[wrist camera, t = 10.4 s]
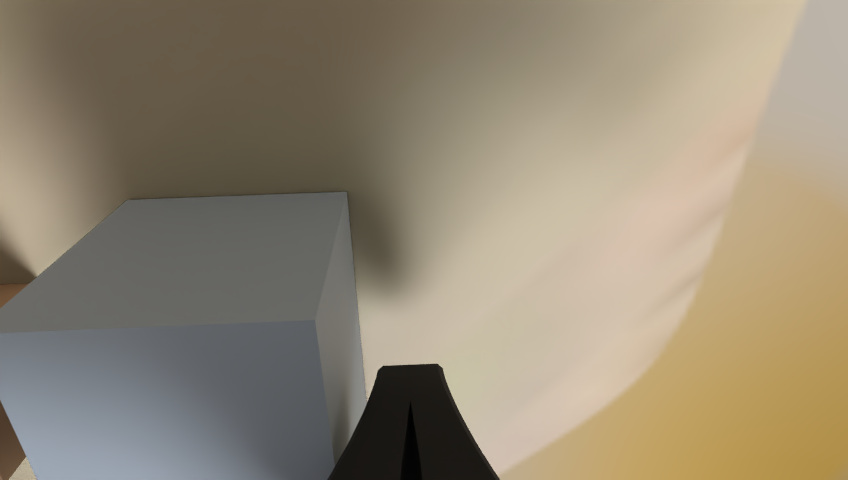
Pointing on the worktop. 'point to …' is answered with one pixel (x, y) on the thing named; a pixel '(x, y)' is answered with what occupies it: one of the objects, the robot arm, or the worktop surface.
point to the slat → (3, 446)
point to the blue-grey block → (191, 344)
